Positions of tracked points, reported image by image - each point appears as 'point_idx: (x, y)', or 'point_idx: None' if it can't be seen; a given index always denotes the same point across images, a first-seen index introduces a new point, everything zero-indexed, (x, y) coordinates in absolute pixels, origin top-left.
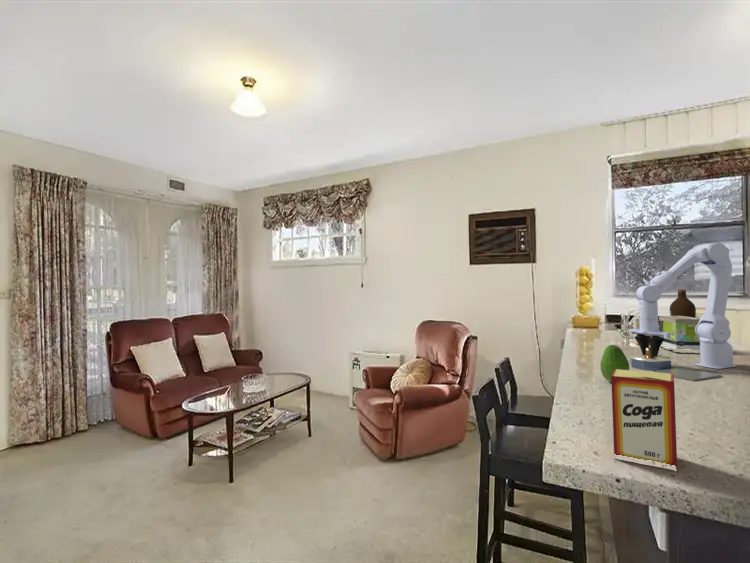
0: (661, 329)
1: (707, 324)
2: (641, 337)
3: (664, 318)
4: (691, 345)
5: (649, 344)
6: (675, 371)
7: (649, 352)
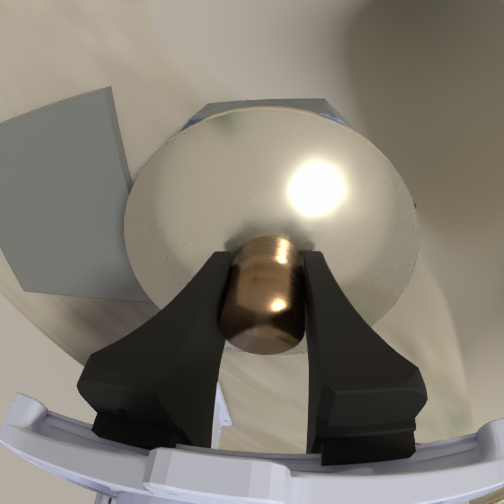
0: None
1: None
2: (320, 407)
3: None
4: None
5: None
6: (76, 201)
7: (241, 273)
